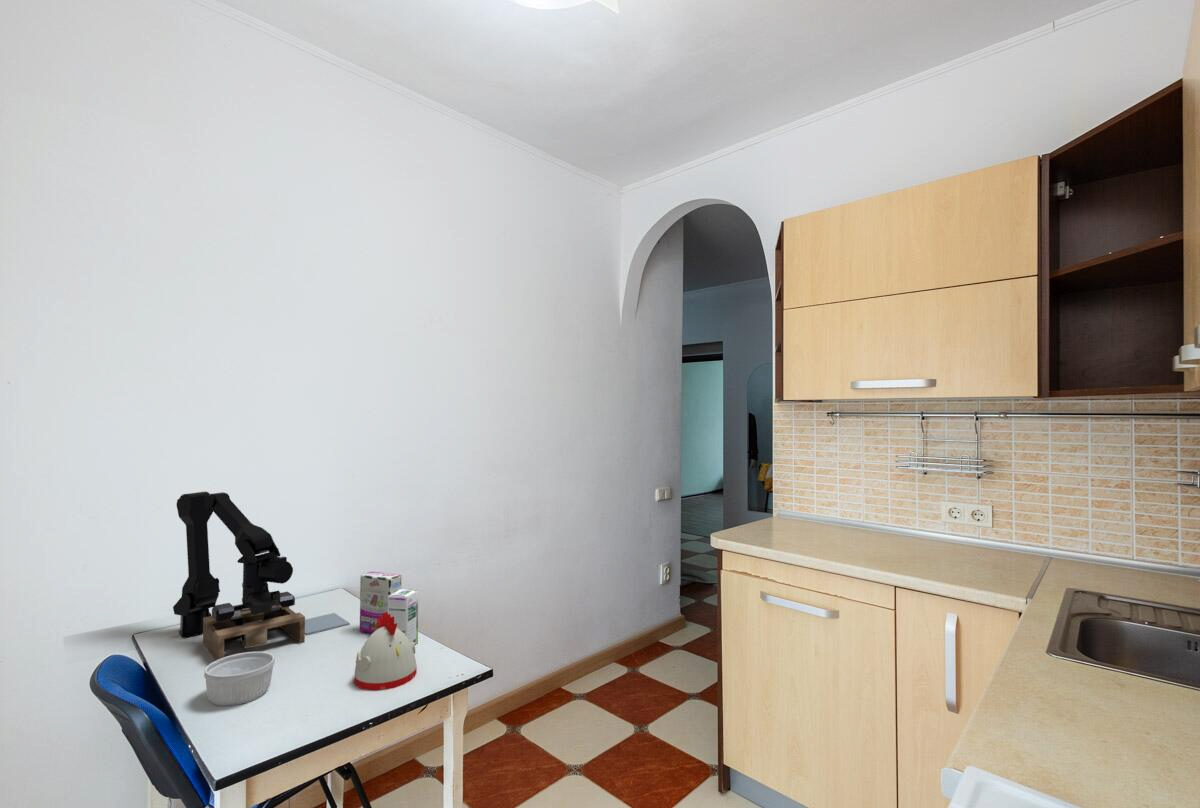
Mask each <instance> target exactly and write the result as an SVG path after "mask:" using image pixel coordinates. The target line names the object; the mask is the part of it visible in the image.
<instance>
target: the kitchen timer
mask: <svg viewBox="0 0 1200 808" xmlns="http://www.w3.org/2000/svg"><path fill="white" fill-rule="evenodd" d="M377 623H378V628H379V629H377V630H376V631H375V632H374V633H372V634H370V635H369V637H368V638H367V639H366V641H365V642H364V643H363V645H362V647H361V650H360V651H357V653H356V659H355V660H356V661H355V663H356V664H355V666H354V667H355V668H354V679H353V680H354V684H355V686H356V687H358V688H360V689H362V690H367V691H383V690H384V691H385V690H389V689H395V688H398V687H401V686H403V685H406V684H407V683H409V682H411V681H412V680H413V679H414V678H415V677H416V675H417V670H418V669H417V668H418V667H417V660H416V656H415V654H416V647H415V645H416V644H415V645H414V642H413V641H412V642H411V643H410V641H409V640H408V638H407V637H406V635H405V634H404V633H403V632H402V631H401V630H399V629H398V628H396V627H397V623H396V624H394V616H393V617H391V616H390V614H387V612H385V613H383V615H382V616H380V619H377Z"/></svg>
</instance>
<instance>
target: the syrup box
mask: <svg viewBox="0 0 1200 808" xmlns="http://www.w3.org/2000/svg"><path fill="white" fill-rule="evenodd" d="M418 593H419V592H418V590H417V589H411V588H410V589H409V588H407V589H406V588H403V589H402V588H401V589H399V590H398V591H397V592H395V593H393V594H391V595H389V596H388V614H390V616H391V617H393V616H394V624H396V623H397V627H396V628H398V629H399V630H401V631H402V632H403V633H404V634H405V635H406V637H407V638H408V640H409V641H410V643H411V642H412V641H413V642H414V645H417V644H418V643H419V606H418V605H419V598H418V597H419V594H418Z"/></svg>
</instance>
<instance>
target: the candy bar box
mask: <svg viewBox="0 0 1200 808" xmlns="http://www.w3.org/2000/svg"><path fill="white" fill-rule="evenodd" d="M399 589H402V575H401V574H396V573H388V572H378V571H369V572H367V573H364V574H361V575H360V590H359V591H360V592H359V593H360V594H359V595H360V597H359V600H360V601H359V603H360V605H359V633H363V634H367V633H368V635H372V633H374V632H375V631H376V630H377V629H379V628H378V623H377V619H380V616H382V615H383V613H385V612H387V614H388V596H389V595H391V594H393V593H395V592H397V591H398V590H399Z"/></svg>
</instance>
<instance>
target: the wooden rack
mask: <svg viewBox="0 0 1200 808" xmlns="http://www.w3.org/2000/svg"><path fill="white" fill-rule="evenodd" d="M280 607H281V608H282V610H281V611H278V612H277V613H276V614H275V616H274V618H272V619H268V620H264V613H259V614H258V615H252V614H251V611H250V610H247V611H242V612H241V615H242V616H243V617H244V620H243V624H245V625H240V626H236V625H235V623H234V621H230V620H229V619H227V620H222V621H216V620H215V619H214V618H213V617H212V615H211V616H209V617H204V618H203V634H202V645H203V646H204V647H205V649H206V650H207V651H208V653H209V654H210V655H211V657H212V658H213V659H214V661H216V660H219V659H221V658H224V657H225V641H227V640H231V639H236V638H239V637H240V635H243V634H247V633H252V632H256V631H260V630H265V629H268V631H269V630H274V629H279V628H281V629H282V630H284V632H286V633H287V634H288V635H289V636H290V637H292V638H293V639H294V640H295V641H296V642H297V643H298V644H303V643H305V636H306V635H305V619H306V616H305V615H303V613H301V612H295V611H294V610H293V609H291V608H290V606H288V607H284V608H283V607H282V606H280ZM260 620H263V621H260ZM255 621H259V622H255ZM250 622H254V623H250ZM246 623H249V624H246ZM240 638H241V637H240Z"/></svg>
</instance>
